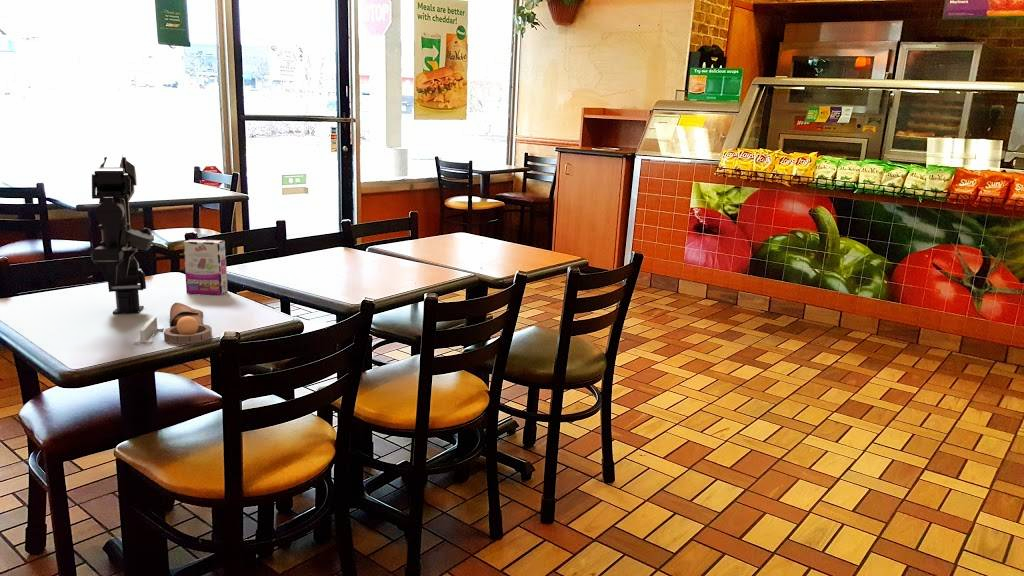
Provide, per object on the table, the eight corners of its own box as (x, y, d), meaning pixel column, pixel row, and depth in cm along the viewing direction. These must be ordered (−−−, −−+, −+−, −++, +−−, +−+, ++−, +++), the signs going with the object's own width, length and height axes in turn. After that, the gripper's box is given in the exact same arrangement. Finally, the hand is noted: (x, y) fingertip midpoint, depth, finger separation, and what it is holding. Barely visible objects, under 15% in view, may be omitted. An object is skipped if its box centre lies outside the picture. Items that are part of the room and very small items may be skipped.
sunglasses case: (206, 328, 196) (190, 307, 193) (181, 343, 194) (165, 322, 191) (203, 311, 212) (188, 292, 209) (180, 326, 210) (165, 306, 207)
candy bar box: (228, 292, 235) (225, 240, 232) (222, 296, 231) (219, 242, 227) (193, 290, 236) (189, 238, 232) (185, 294, 231) (182, 241, 227)
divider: (147, 330, 194) (146, 316, 194) (163, 329, 195) (162, 316, 194) (133, 344, 183) (132, 330, 182) (151, 344, 184) (150, 330, 183)
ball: (179, 332, 191) (178, 313, 190) (200, 332, 192) (199, 313, 191) (175, 339, 187) (173, 319, 185) (196, 338, 188) (195, 319, 186)
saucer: (170, 331, 194) (169, 324, 193) (215, 331, 196) (215, 323, 195) (159, 345, 183) (158, 336, 183) (207, 344, 185) (207, 335, 185)
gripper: (138, 226, 178) (143, 290, 182) (158, 215, 196) (162, 273, 200) (87, 226, 176) (93, 291, 180) (111, 214, 194) (116, 273, 198)
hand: (119, 282), depth 189 cm, fingers open, 9 cm apart
